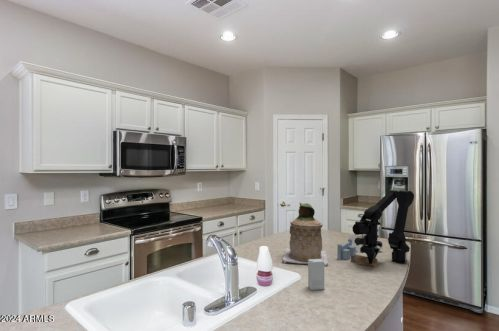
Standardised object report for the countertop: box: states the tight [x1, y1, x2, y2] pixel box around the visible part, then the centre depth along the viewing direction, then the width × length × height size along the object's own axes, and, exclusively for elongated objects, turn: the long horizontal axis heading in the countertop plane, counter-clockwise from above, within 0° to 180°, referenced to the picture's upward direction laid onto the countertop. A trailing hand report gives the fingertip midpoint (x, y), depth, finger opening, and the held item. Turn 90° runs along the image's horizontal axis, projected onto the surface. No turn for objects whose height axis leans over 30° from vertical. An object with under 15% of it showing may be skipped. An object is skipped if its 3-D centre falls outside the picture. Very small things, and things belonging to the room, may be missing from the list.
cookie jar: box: [281, 202, 329, 267], centre depth 171 cm, size 25×25×32 cm
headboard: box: [336, 237, 357, 261], centre depth 174 cm, size 5×18×9 cm, turn 141°
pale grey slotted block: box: [348, 234, 384, 254], centre depth 191 cm, size 16×9×15 cm
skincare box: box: [307, 259, 325, 291], centre depth 129 cm, size 6×4×12 cm
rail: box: [350, 254, 378, 268], centre depth 162 cm, size 13×4×4 cm, turn 51°
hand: (371, 262), depth 159 cm, fingers closed on rail, 3 cm apart
